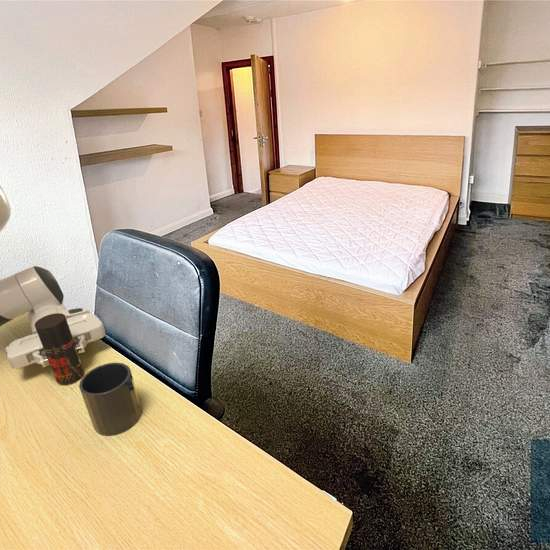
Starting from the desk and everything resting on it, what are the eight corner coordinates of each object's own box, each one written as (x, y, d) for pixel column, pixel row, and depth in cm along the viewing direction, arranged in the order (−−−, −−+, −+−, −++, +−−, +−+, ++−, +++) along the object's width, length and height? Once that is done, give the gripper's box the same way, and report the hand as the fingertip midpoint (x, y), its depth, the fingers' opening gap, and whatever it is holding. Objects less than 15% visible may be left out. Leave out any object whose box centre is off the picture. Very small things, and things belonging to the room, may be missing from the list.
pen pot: (83, 428, 78) (68, 388, 74) (117, 396, 86) (105, 358, 81) (118, 441, 75) (105, 400, 71) (151, 407, 82) (140, 368, 78)
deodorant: (53, 376, 93) (31, 321, 86) (79, 364, 97) (60, 310, 90) (61, 389, 89) (38, 332, 82) (88, 376, 92) (69, 320, 86)
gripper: (0, 334, 93) (4, 364, 83) (92, 304, 103) (107, 328, 93) (9, 357, 96) (15, 388, 86) (99, 325, 106) (113, 350, 96)
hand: (63, 356), depth 89 cm, fingers closed on deodorant, 6 cm apart
